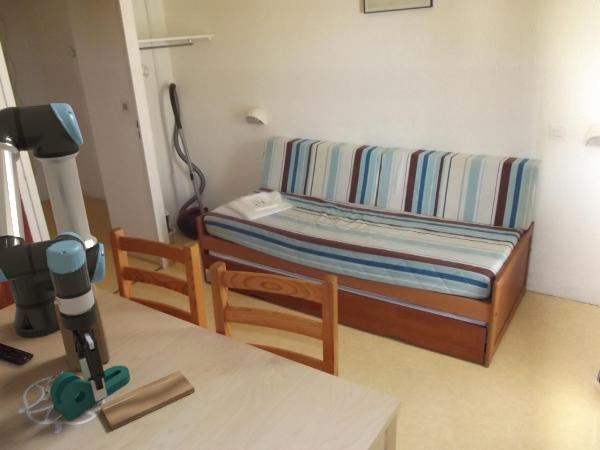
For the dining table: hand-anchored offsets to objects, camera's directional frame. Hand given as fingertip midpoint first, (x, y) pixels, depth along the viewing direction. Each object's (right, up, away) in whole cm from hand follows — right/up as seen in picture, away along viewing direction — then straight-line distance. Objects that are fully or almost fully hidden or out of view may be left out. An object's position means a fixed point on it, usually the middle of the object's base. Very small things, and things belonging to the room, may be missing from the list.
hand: (95, 388), depth 125 cm
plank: (+14, -2, -3) cm, 14 cm away
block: (-7, +4, +14) cm, 16 cm away
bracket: (0, -1, +1) cm, 2 cm away
